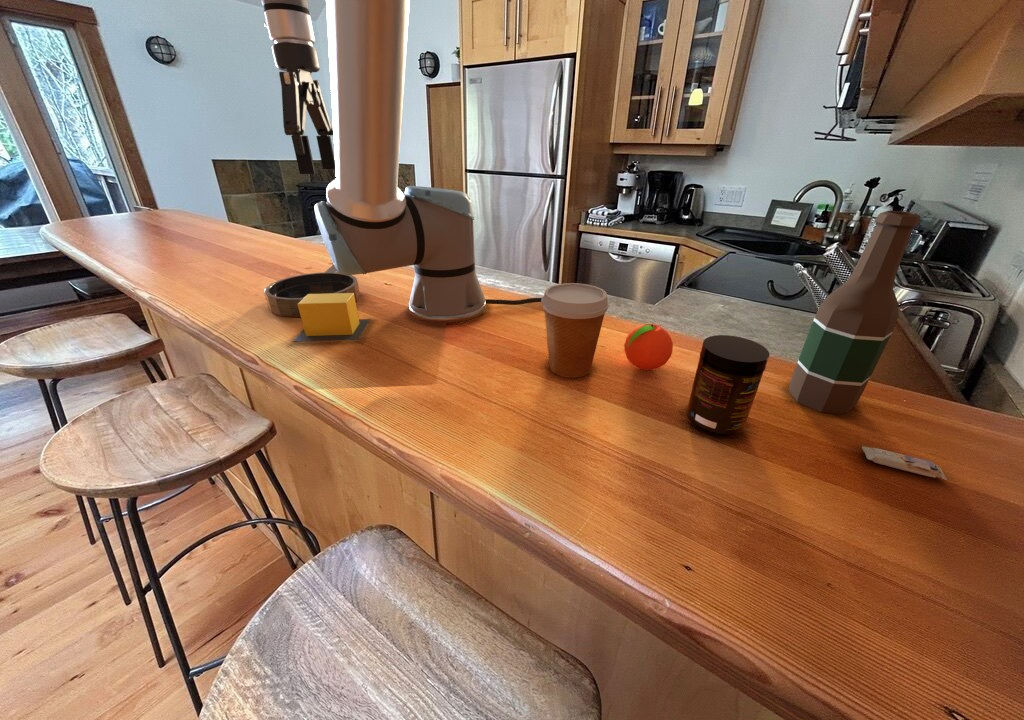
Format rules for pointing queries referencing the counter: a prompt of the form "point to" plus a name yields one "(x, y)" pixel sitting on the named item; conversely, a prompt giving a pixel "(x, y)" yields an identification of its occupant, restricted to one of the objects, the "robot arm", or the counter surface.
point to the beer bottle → (854, 323)
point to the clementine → (648, 346)
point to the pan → (306, 290)
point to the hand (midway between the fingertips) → (319, 171)
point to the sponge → (329, 314)
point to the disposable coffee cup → (573, 326)
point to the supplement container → (725, 384)
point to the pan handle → (332, 269)
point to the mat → (355, 336)
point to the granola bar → (904, 462)
